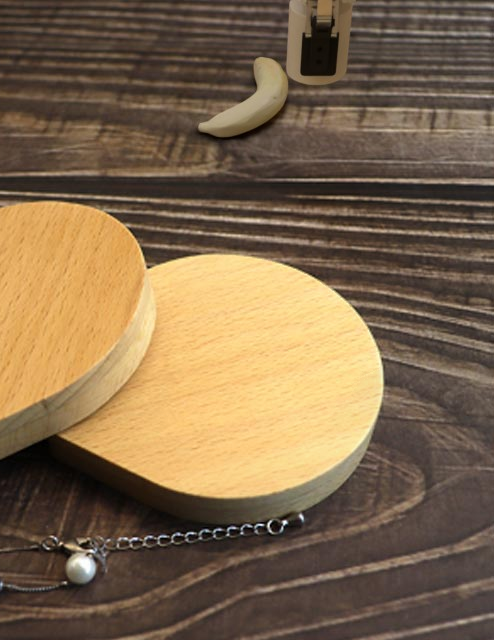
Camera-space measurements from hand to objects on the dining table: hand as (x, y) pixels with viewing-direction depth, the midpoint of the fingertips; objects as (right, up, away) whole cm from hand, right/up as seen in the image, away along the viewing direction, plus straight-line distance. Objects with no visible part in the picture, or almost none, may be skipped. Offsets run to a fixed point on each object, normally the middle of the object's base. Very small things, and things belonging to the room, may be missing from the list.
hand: (317, 54), depth 95 cm
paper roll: (0, -1, +1) cm, 2 cm away
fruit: (-3, +2, +26) cm, 26 cm away
